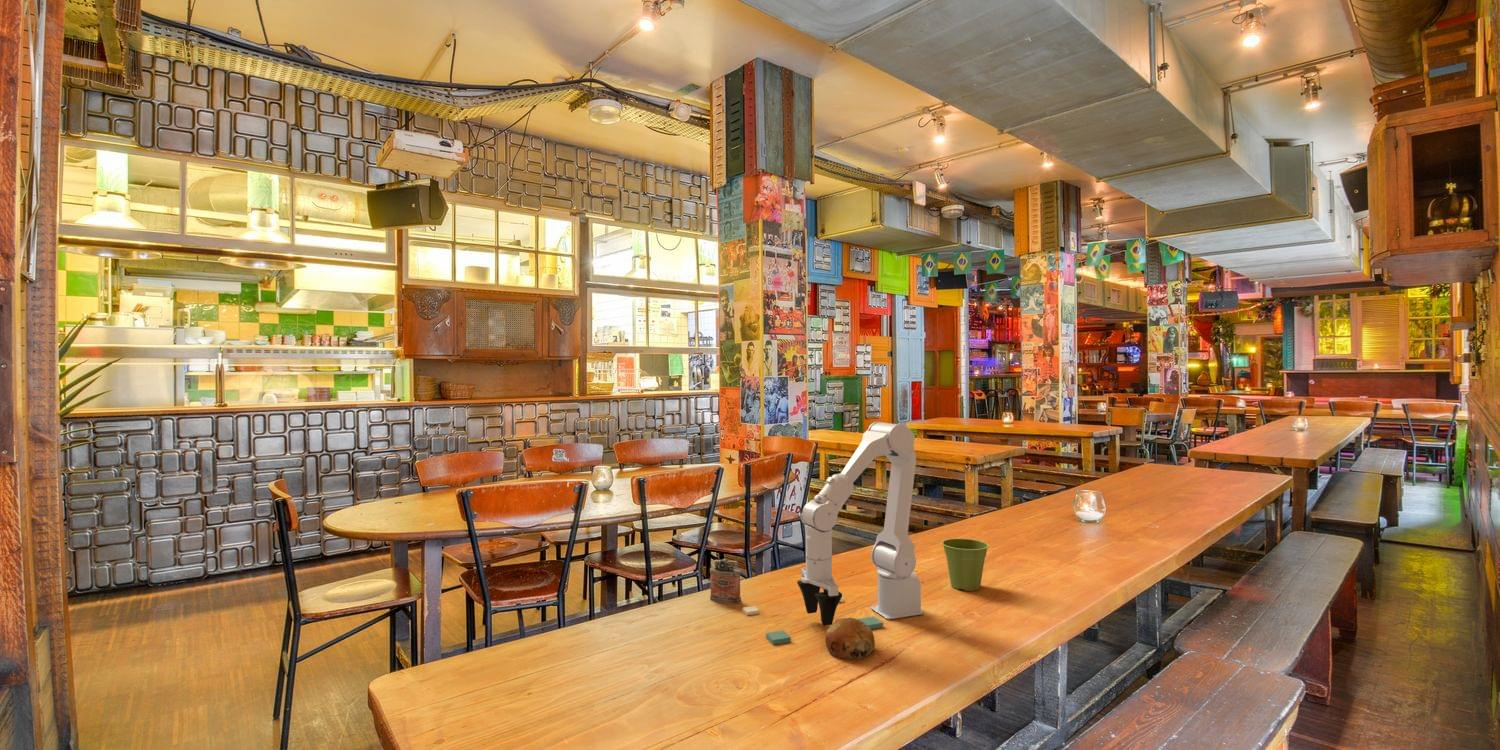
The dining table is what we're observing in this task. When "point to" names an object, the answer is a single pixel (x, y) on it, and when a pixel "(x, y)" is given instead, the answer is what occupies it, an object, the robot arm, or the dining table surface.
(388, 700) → the dining table surface
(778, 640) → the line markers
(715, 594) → the lighter
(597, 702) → the dining table surface
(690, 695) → the dining table surface
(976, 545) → the plant pot
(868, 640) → the bread roll
